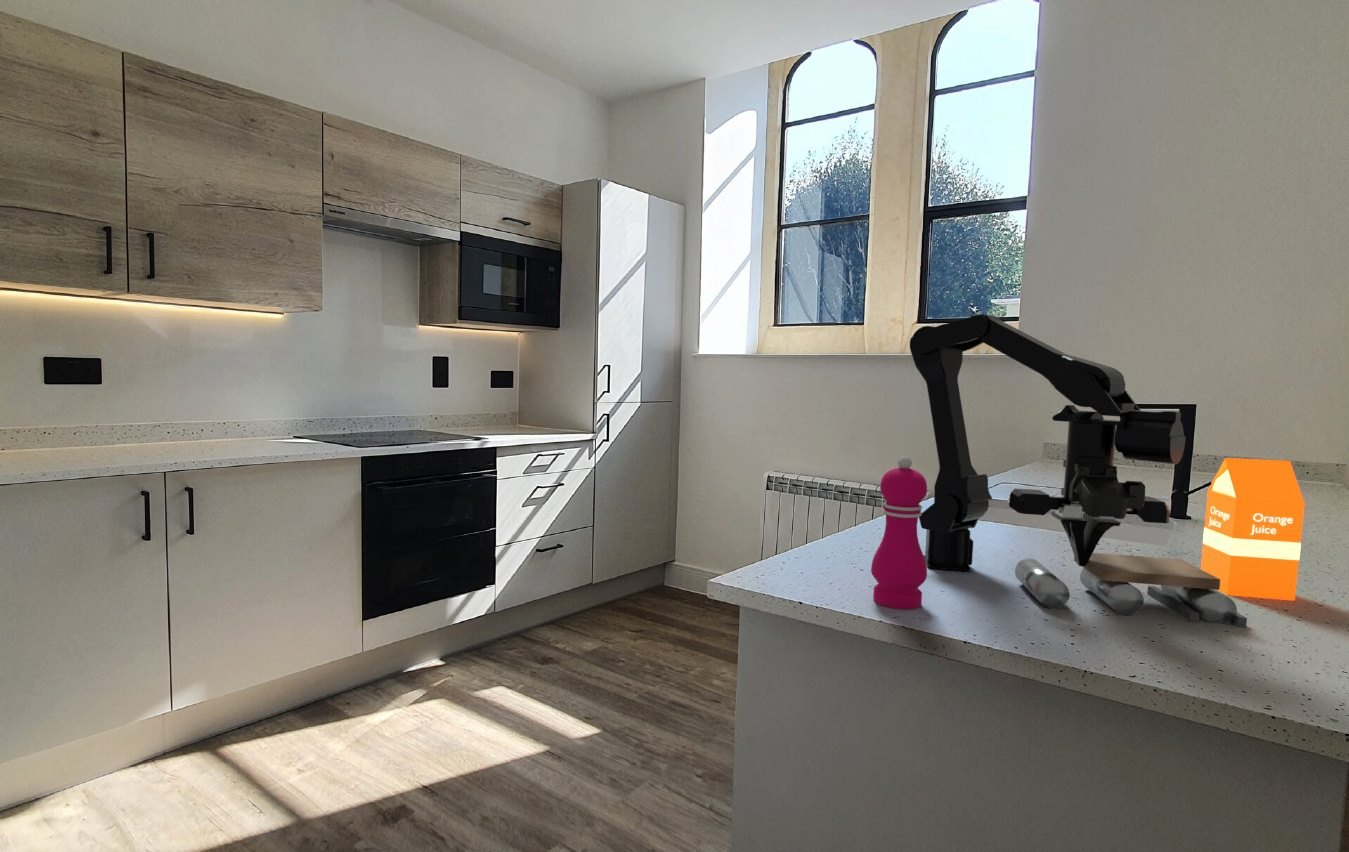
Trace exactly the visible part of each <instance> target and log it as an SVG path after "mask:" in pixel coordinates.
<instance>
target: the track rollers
mask: <svg viewBox="0 0 1349 852" xmlns="http://www.w3.org/2000/svg"><path fill="white" fill-rule="evenodd" d="M1082 568H1083V567H1082ZM1014 575H1015V577H1016V579H1017V580H1018V581H1019V582H1020V583H1021V585H1023V587H1025V589H1027V590H1028V592H1029V593H1030V594H1031V595H1033V597H1034V598H1036V600H1037V601H1038V602H1039V603H1040V604H1041V605H1042V606H1044V607H1046V608H1048V609H1060V608H1062V607H1063V606H1065V605H1066V604H1067V602H1068V601H1069V599H1070V590H1069V587H1068V586H1067V585H1066V584H1065V583H1064V582H1063V581H1062V580H1061V579H1060V578H1058V577H1057V576H1056V575H1055V574H1054V573H1052V572H1051V571H1050V570H1049V569H1048V568H1046V567H1045V566H1044V565H1043V564H1042V563H1041V562H1040V561H1038V560H1037V559H1035V558H1023V559H1022V560H1020V561H1019V562H1018V563H1017V564H1016V566H1015V568H1014ZM1079 577H1080V582H1081V584H1082V586H1084V587H1085V588H1086V589H1088V591H1090V592H1091V593H1093V594H1094V595H1095V596H1096V597H1098V599H1100V600H1101V601H1102V602H1104V603H1105V604H1106V605H1107V606H1109V607H1110V608H1112V609H1113V610H1114V611H1115V612H1117V613H1118V614H1120V615H1123V616H1133V615H1135V614H1137V613H1139V612H1140V611H1141V610H1142V608H1143V607H1144V603H1145V599H1144V595H1143V593H1142V592H1141V590H1139V588H1137V587H1136V586H1134V585H1132V583H1130V582H1117V581H1105V580H1100V579H1098V578H1097V577H1096V576H1094V575H1093V574H1092V573H1090V572H1089V571H1087V570H1086V569H1085V568H1083V569H1081V571H1080V575H1079Z"/></svg>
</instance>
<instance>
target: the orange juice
mask: <svg viewBox="0 0 1349 852" xmlns="http://www.w3.org/2000/svg"><path fill="white" fill-rule="evenodd" d="M1305 502H1306V501H1304V499H1303V495H1302V493H1301V489H1300V486H1299V484H1298V480H1297V477H1296V475H1295V472H1294V469H1293V465H1292V463H1291V460H1279V459H1278V460H1277V459H1276V460H1275V459H1273V460H1272V459H1255V458H1254V459H1253V458H1231V457H1227V458H1226V457H1225V458H1224V460H1223V462H1222V463H1221V465H1220V468H1219V469H1218V471H1217V473H1216V475H1215V477H1214V478H1213V480H1212V482H1211V484H1210V486H1209V488H1208V489H1207V495H1206V505H1205V507H1206V508H1205V518H1204V519H1205V520H1204V526H1203V536H1202V537H1203V538H1202V550H1201V552H1202V553H1201V560H1200V561H1201V562H1200V563H1201V564H1200V569H1201V570H1203V571H1205V572H1207V573H1209V574H1211V575H1213V576H1215V577H1217V578H1219V579H1221V580H1220V590H1217V591H1218V592H1219V593H1221V594H1223V595H1225V596H1232V597H1233V596H1234V597H1235V596H1236V597H1244V598H1245V597H1246V598H1259V599H1269V600H1284V601H1295V600H1296V593H1297V592H1296V591H1297V583H1298V582H1297V581H1298V573H1299V572H1298V571H1299V562H1300V560H1301V559H1300V558H1301V557H1300V556H1301V547H1302V543H1301V542H1302V533H1303V532H1302V531H1303V523H1304V514H1305Z"/></svg>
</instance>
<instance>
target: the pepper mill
mask: <svg viewBox="0 0 1349 852" xmlns="http://www.w3.org/2000/svg"><path fill="white" fill-rule="evenodd" d="M912 462H913V461H912V459H911V458H910V457H908V456H901V457H899V459H897V465H898V467H895V468H892V469H890V470H888V471H887V472H885V473H884V475H883V476H882V478H881V479H880V480H881V481H880V487H879V490H880V493H881V495H882V496H883V498H884V499H885V501H884V502H883V504H882V506H883V509H882V513H883V514H884V515H885V528H884V533H883V537H882V540H881V541H880V544H879V546H877V547H878V548H877V550H876V551H875V553H874V555H873V558H872V561H871V569H870V570H871V571H870V572H871V575H872V576H873V578H874V580H875V581H876V582H877V584H876V585H874V587H873V601H874V602H875V603H877V604H878V605H881V606H884V607H887V608H890V609H896V610H914V609H918V608H920V607H921V605H922V601H923V597H922V596H923V591H922V590H920V589H919V588H920V586H921V585H923V584H924V583H925V582H926V580H927V577H928V569H927V568H928V566H927V565H926V562H925V558H924V556H923V555H924V554H923V550H922V548H921V545H920V542H919V537H918V521H919V517H920V516H921V515H922V513H923V512H922V509H923V506H922V505H921V504H920V503H921V502H922V501H923V499H925V497H926V496H927V493H928V486H927V485H928V484H927V481H926V477H925V476H924V475H923V474H922V473H921V472H919V471H918V470H916V469H914V468H911V467H912V464H913V463H912Z"/></svg>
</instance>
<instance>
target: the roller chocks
mask: <svg viewBox="0 0 1349 852" xmlns="http://www.w3.org/2000/svg"><path fill="white" fill-rule="evenodd" d="M1146 592H1147V595H1149V596H1150V597H1151V598H1153V599H1154V600H1156V601H1158V602H1159V603H1160V604H1162V605H1164V606H1165V607H1166V608H1168V609H1169V610H1171V611H1173V612H1174V613H1175V614H1177V615H1179V616H1180V617H1182V618H1183V619H1184V620H1186V621H1188V622H1189V623H1195V624H1196V623H1197V624H1198V623H1199V620H1200V616H1199V613H1197V612H1196V611H1194V610H1192V609H1191V608H1189V607H1188V606H1186V605H1185V604H1183V603H1181V602H1180V601H1178V600H1177V599H1175V598H1173V597H1172V596H1170V595H1169V594H1167V593H1165V592H1164V591H1162V589H1160V588H1159V587H1158V586H1157V585H1154V586H1153V585H1147V591H1146ZM1247 622H1248V617H1246V616H1245V615H1242V614H1241V613H1239V612H1237V613H1236V616H1235V618H1234V619H1233V620H1232V621H1231V622H1230V623H1231V624H1232V625H1234V626H1236V627H1241V628H1247Z"/></svg>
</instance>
